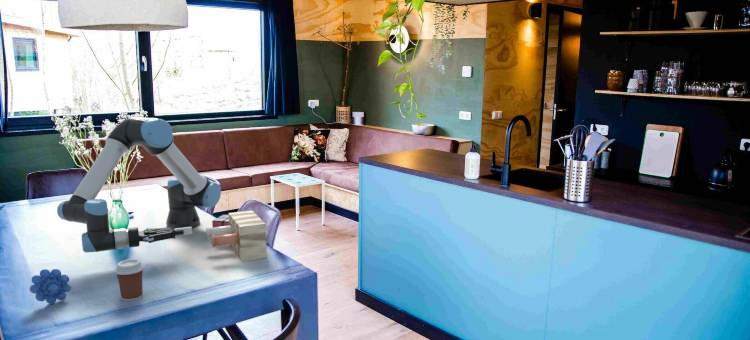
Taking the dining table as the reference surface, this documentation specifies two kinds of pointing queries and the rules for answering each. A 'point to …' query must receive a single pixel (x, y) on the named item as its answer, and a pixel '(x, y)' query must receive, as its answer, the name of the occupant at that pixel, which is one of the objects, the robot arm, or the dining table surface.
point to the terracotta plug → (225, 239)
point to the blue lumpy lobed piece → (50, 286)
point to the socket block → (249, 235)
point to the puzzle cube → (221, 221)
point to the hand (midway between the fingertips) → (191, 230)
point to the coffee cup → (130, 279)
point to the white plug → (219, 231)
